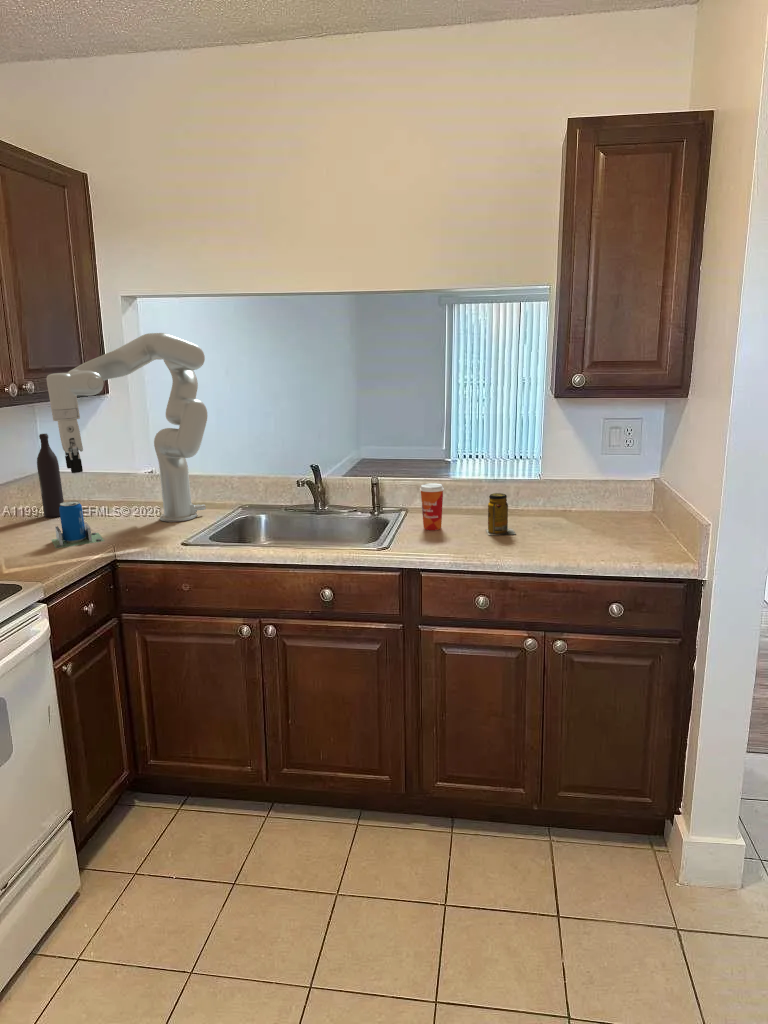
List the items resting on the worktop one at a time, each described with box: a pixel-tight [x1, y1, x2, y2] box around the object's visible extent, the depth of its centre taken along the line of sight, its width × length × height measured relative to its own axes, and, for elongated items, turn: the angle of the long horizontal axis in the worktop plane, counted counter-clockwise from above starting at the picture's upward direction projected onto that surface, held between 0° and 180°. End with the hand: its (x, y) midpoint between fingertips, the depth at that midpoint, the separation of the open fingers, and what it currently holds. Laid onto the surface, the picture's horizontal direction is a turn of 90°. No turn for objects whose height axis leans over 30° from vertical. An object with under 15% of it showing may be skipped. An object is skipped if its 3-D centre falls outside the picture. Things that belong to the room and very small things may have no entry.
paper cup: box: [419, 482, 445, 531], centre depth 226 cm, size 8×8×14 cm
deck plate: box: [51, 532, 105, 550], centre depth 223 cm, size 14×12×1 cm
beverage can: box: [59, 500, 86, 543], centre depth 221 cm, size 6×6×12 cm
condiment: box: [485, 492, 517, 536], centre depth 219 cm, size 7×8×12 cm
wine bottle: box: [36, 433, 65, 519], centre depth 257 cm, size 7×7×30 cm
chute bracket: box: [55, 521, 92, 546], centre depth 221 cm, size 9×9×4 cm
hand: (74, 470), depth 220 cm, fingers open, 9 cm apart
